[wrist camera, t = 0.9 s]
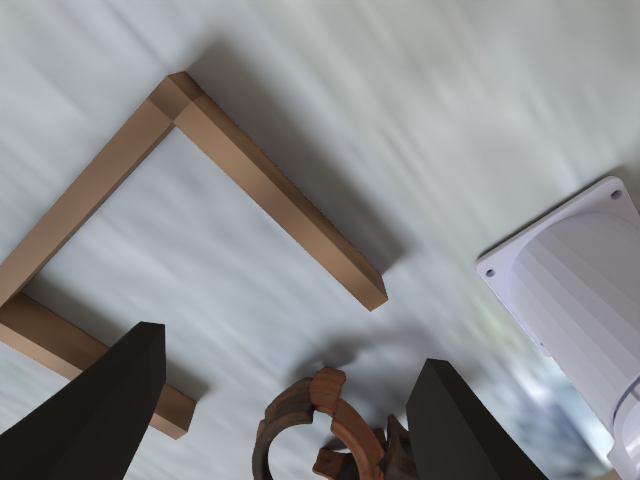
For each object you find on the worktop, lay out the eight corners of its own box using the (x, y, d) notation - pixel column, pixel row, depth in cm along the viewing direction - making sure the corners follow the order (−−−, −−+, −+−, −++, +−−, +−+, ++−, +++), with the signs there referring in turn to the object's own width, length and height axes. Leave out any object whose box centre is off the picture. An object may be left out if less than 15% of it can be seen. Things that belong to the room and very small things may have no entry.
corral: (381, 275, 21) (388, 300, 19) (185, 410, 26) (175, 439, 24) (184, 71, 16) (166, 75, 14) (-12, 290, 21) (-44, 316, 19)
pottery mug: (286, 455, 30) (238, 537, 22) (286, 341, 30) (238, 383, 22) (440, 483, 27) (449, 591, 19) (443, 356, 27) (453, 412, 19)
